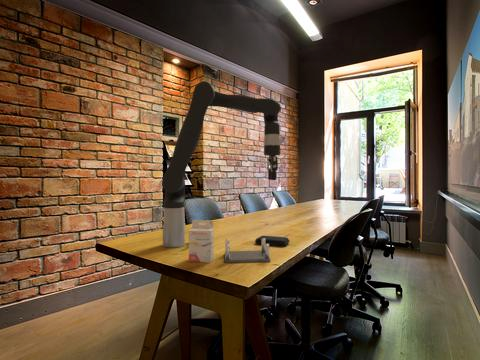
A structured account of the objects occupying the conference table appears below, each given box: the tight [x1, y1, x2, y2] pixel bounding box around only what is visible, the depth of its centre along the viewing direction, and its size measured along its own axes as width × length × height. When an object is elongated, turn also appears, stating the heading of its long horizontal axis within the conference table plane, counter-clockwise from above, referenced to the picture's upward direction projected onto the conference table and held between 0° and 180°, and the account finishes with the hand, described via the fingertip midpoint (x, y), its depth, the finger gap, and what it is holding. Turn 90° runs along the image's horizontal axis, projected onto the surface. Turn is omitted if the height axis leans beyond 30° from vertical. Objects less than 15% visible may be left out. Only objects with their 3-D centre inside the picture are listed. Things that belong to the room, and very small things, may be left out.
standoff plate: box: [224, 238, 271, 264], centre depth 107 cm, size 16×12×6 cm
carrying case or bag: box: [254, 235, 290, 248], centre depth 130 cm, size 11×3×15 cm
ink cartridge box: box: [188, 219, 215, 263], centre depth 104 cm, size 9×5×15 cm, turn 84°
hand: (272, 180), depth 130 cm, fingers open, 8 cm apart
